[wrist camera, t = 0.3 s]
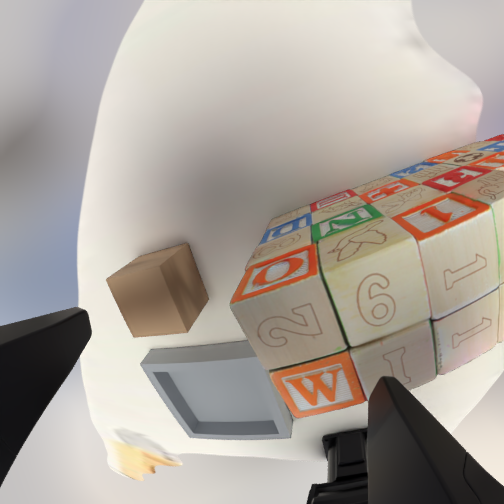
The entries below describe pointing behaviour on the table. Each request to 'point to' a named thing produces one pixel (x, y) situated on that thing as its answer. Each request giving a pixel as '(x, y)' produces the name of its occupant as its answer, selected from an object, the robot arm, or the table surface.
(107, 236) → the table surface
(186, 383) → the grey tray
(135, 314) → the walnut cube
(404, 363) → the stack of blocks
